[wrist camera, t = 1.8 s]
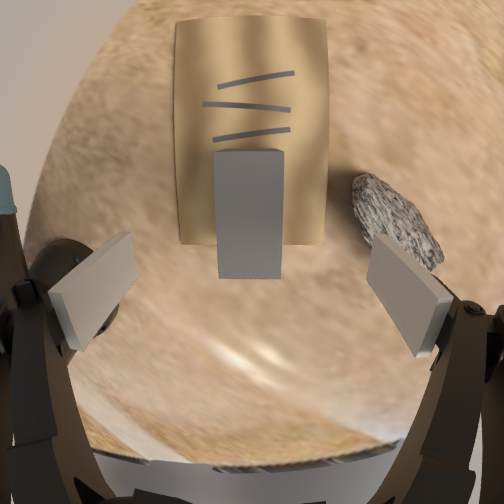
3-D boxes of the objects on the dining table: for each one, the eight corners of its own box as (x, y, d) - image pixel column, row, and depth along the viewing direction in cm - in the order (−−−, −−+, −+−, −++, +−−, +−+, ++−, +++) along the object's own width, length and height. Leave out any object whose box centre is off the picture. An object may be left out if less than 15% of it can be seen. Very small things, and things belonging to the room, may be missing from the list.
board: (183, 241, 32) (181, 244, 31) (179, 24, 22) (176, 21, 21) (320, 241, 32) (322, 244, 31) (323, 23, 22) (325, 20, 21)
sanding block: (274, 240, 31) (280, 278, 23) (229, 240, 31) (218, 278, 23) (276, 148, 27) (284, 151, 19) (226, 148, 27) (213, 152, 19)
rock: (318, 180, 29) (354, 219, 20) (376, 137, 26) (430, 160, 18) (377, 267, 36) (410, 317, 27) (422, 233, 33) (464, 274, 25)
